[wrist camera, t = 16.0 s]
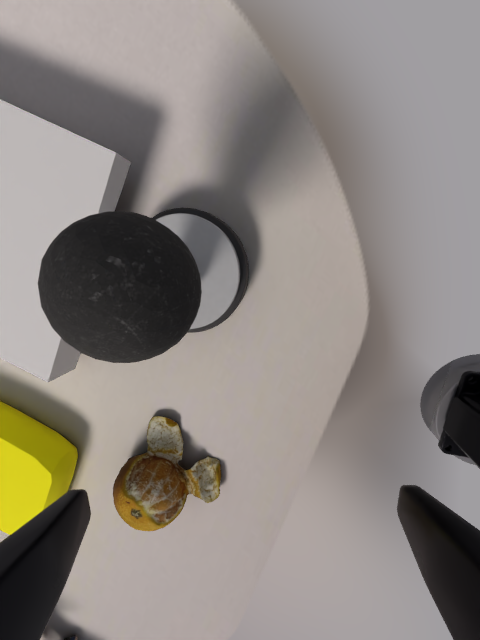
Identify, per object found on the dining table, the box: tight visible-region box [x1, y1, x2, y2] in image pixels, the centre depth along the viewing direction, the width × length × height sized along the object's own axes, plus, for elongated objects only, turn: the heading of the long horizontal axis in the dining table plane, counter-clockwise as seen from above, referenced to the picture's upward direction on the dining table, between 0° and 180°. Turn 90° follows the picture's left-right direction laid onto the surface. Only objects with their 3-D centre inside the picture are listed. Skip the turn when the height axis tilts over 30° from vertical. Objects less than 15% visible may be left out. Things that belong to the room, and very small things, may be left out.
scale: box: [152, 208, 249, 333], centre depth 19 cm, size 8×8×2 cm
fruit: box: [113, 416, 221, 531], centre depth 22 cm, size 8×8×4 cm
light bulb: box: [38, 211, 202, 363], centre depth 13 cm, size 6×6×10 cm
